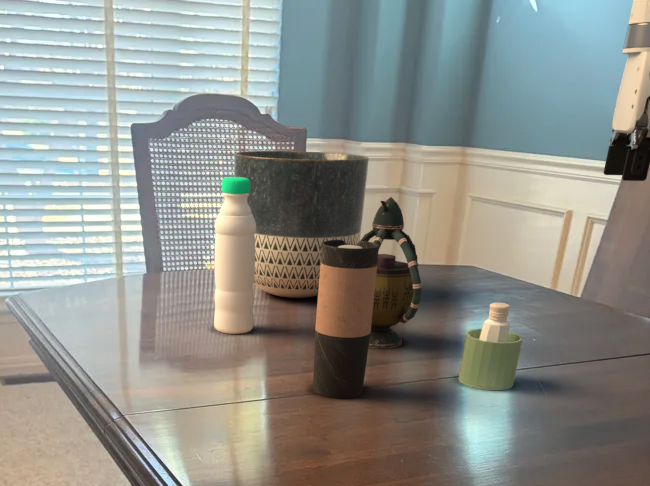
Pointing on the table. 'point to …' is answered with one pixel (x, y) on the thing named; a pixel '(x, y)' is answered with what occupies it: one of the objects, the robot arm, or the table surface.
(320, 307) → the travel mug
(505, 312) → the salt shaker
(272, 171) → the planter
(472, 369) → the cup
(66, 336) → the table surface
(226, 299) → the water bottle
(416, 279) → the teapot
